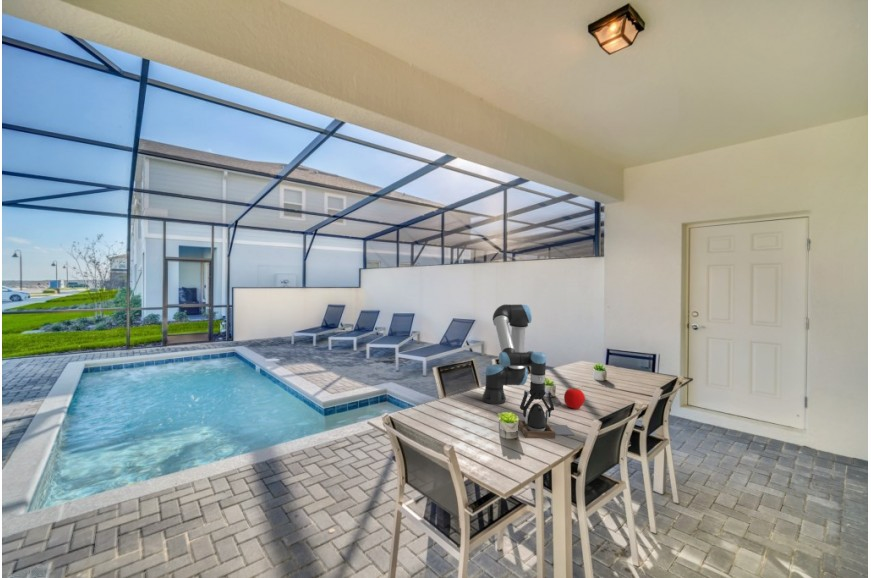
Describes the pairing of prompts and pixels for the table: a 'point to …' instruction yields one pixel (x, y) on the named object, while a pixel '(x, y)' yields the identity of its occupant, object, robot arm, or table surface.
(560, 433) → the rubber mat
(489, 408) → the table surface
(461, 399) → the table surface
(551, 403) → the robot arm
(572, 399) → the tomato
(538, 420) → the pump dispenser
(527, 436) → the frame
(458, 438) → the table surface
